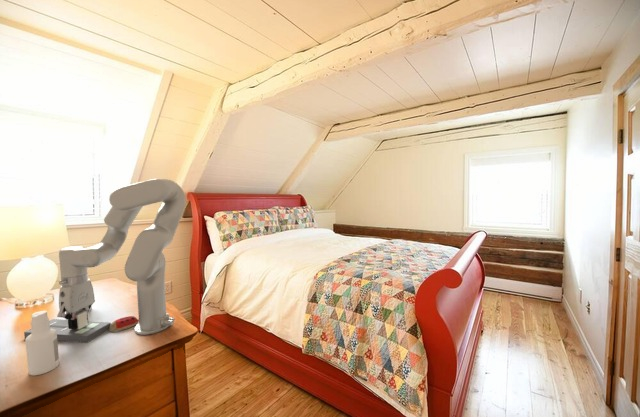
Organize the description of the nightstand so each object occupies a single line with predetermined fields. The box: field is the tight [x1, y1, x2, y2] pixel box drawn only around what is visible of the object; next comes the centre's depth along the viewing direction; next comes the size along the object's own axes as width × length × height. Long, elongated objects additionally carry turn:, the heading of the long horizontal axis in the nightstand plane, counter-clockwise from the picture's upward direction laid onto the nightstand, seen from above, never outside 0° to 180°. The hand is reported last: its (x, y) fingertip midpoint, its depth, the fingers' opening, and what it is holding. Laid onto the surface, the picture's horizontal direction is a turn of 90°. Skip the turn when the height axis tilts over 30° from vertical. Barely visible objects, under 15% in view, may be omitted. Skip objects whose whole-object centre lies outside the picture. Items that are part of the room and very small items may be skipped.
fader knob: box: [70, 309, 89, 329], centre depth 105 cm, size 4×4×6 cm
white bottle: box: [24, 310, 60, 376], centre depth 85 cm, size 7×7×18 cm
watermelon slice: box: [108, 315, 139, 332], centre depth 111 cm, size 7×10×4 cm
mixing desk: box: [23, 318, 112, 344], centre depth 106 cm, size 26×10×3 cm, turn 84°
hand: (78, 325), depth 105 cm, fingers closed on fader knob, 3 cm apart
